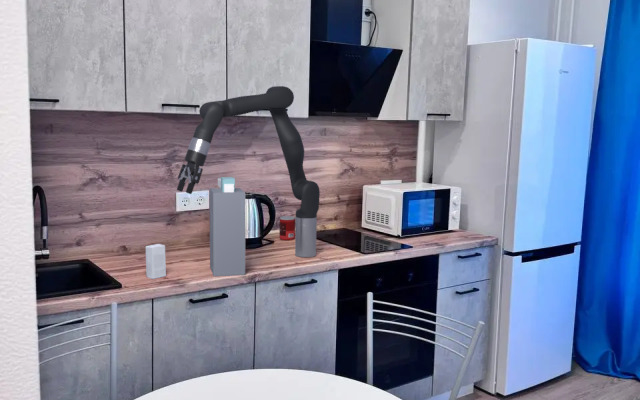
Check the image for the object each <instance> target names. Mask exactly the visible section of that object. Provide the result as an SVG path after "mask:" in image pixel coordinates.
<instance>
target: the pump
mask: <svg viewBox="0 0 640 400" xmlns="http://www.w3.org/2000/svg"><path fill="white" fill-rule="evenodd" d="M217 187H218V188H221V191H222V192H235V188H236V178H235V177H234V176H224V177H223V176H221V177H218V178H217Z"/></svg>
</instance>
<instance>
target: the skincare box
mask: <svg viewBox="0 0 640 400" xmlns="http://www.w3.org/2000/svg"><path fill="white" fill-rule="evenodd" d="M166 263H167V261H166V245H165V244H162V243H156V244H151V245H147V246H145V267H146V268H145V270H146V272H145V273H146V278H147V277H148V279H151V280H156V279H159V278H163V277H166V276H167V270H166V269H167V267H166Z"/></svg>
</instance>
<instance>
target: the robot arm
mask: <svg viewBox="0 0 640 400" xmlns="http://www.w3.org/2000/svg"><path fill="white" fill-rule="evenodd" d="M294 98H295V95H294V92H293V90H291V88H289V87H287V86H283V85H282V86H281V85H280V86H271V87H269V88H268V89H267V90H266V92H265V93H261V94H253V95H250V94H249V95H243V96H237V97H231V98H227V99H223V100H215V101H208V102H205V103H203V104H202V105H201V106H200V107H199V110H198V111H199V115H200V117H201V118H202V122H201V123H200V124H198V125H197V126H196V128H195V130H194V134H193V136H192V138H191V141H190V143H189V145H188V148H187V151H186V154H185V156H184V161H185V162H187V163H186V164H184V163H183V164H182V166H181V168H180V170H179V174H178V176H177V180H179V182H178V184H177V187H176V190H177V191H179V192H183V191H184V188H185V185H186V182H187V181H188V184H187V188H186V190H185V193H187V194H189V195H192V193H193V191H194V188H195V186H196V185H197V184H199V183H200V179H201V177H202V173H203V171H204V170H203V168H202V167H204V165H205V162H206V160H207V157H208V153H209V151H210V147H211V144H212V142H213V137H214V135H215V132H216V131H217V129H218V128H219V126H220V124H221V122H222V120H223V118H225V117H229V118H230V117H237V116H240V115H246V114H251V113H253V112H258V111H263V110H269V112H270V116H271V117H272V120H273V124H274V126H275V129H276V133H277V137H278V141H279V143H280V148H281V151H282V153H283V157H284V160H285V164H286V167H287V170H288V176H289V180H290V185H291V191H292V195H293V196H294V198H295V199H297V200H299V201H300V203H301V204H300V207H299V208H298V209H296V210H295V239H294V240H295V241H294V243H295V244H294V248H295V249H294V256H296V257H299V258H313V257H316V255H317V220H318V219H317V215H318V211H319V207H320V206H319V205H320V195H321V194H320V193H321V192H320V191H321V190H320V187H319V184H318V183H317V182H315V181H313V180H308V179H307V177H306V174H305V171H304V158H305V147H304V144H303V140H302V137H301V133H300V132H299V131H298V129H297V128H296V126H295V125H294V123H293V122H292V121H291V119H290V117H289V114H288V112H287V109H288V108H289V107H291V105H293V103H294V100H295V99H294Z"/></svg>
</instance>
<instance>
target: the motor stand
mask: <svg viewBox="0 0 640 400" xmlns="http://www.w3.org/2000/svg"><path fill="white" fill-rule="evenodd" d="M209 269H210V271H211V273H213V274H212V277H214V276H215V277H230V276H231V277H232V276H245V275H246V192H245V191H244V190H243V189H242V188H241V187H235V192H222V191H221V188H220V187H217V188H216V187H215V188H213V187H212V188H209Z"/></svg>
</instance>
